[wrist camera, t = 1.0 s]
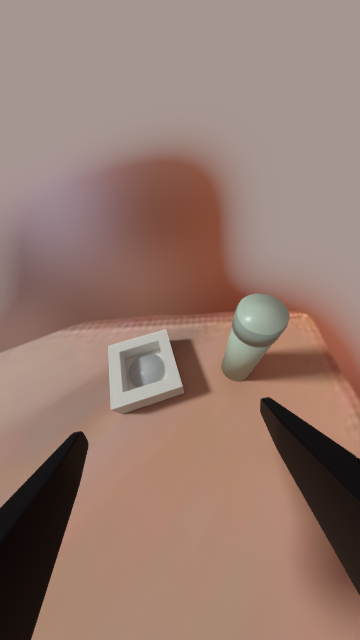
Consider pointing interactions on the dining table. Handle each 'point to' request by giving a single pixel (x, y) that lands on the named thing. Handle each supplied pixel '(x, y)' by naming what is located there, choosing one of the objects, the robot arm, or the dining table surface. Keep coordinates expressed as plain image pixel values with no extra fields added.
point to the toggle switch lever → (253, 334)
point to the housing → (142, 372)
